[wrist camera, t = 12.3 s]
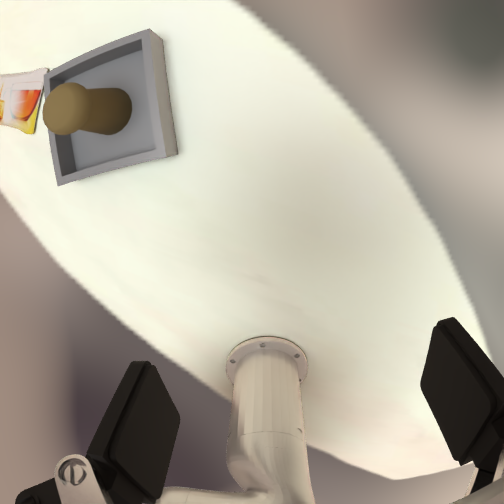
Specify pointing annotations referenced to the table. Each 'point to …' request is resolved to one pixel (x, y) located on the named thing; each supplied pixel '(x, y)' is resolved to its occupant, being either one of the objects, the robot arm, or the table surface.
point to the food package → (21, 99)
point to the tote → (142, 117)
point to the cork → (86, 109)
